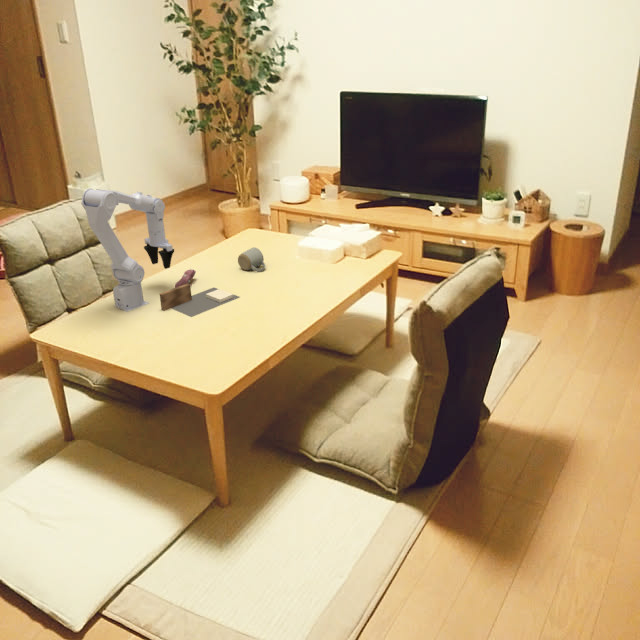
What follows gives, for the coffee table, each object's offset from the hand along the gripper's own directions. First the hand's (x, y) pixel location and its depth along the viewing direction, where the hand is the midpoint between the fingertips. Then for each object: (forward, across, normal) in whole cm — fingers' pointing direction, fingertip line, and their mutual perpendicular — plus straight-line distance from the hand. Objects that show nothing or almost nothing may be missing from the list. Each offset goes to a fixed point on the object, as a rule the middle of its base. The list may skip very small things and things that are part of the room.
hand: (161, 265), depth 246 cm
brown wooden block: (+9, -17, +7) cm, 20 cm away
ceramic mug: (+10, -10, -36) cm, 39 cm away
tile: (+8, -24, -4) cm, 26 cm away
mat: (+9, -22, -1) cm, 24 cm away
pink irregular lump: (+10, -3, -8) cm, 13 cm away
